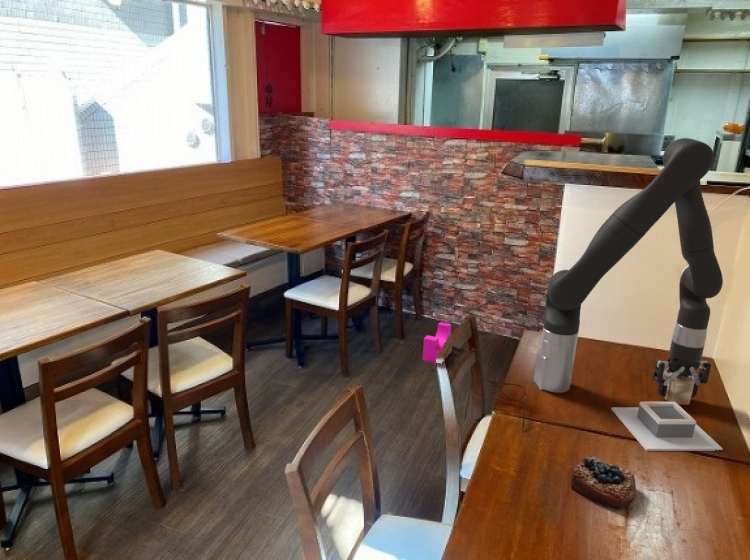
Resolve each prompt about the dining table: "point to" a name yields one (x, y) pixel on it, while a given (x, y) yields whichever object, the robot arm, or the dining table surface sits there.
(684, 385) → the maple block
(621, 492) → the pastry
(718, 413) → the dining table surface
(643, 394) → the dining table surface
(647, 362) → the dining table surface
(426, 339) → the toy block
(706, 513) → the dining table surface
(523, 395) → the glasses
